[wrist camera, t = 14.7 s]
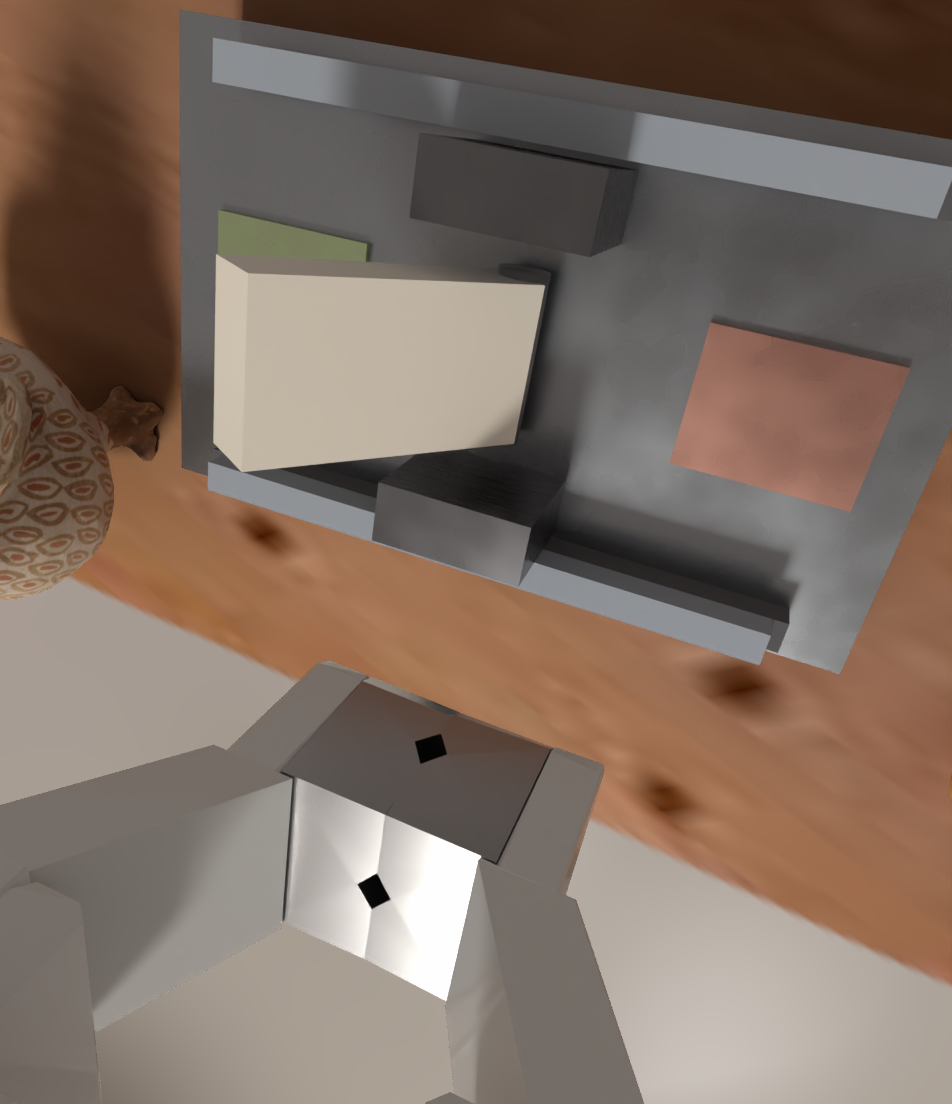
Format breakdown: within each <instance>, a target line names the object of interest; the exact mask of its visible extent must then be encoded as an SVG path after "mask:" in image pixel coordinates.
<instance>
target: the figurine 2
mask: <svg viewBox="0 0 952 1104" xmlns="http://www.w3.org/2000/svg"><path fill="white" fill-rule="evenodd" d="M950 792H951V799H952V775H951V782H950Z"/></svg>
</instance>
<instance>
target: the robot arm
mask: <svg viewBox="0 0 952 1104" xmlns="http://www.w3.org/2000/svg"><path fill="white" fill-rule="evenodd" d="M603 774H604V765H603V764H601V763H598V762H595V761H592V760H590V759H587V758H584V757H581V756H578V755H576V754H573V753H570V752H567V751H564V750H562V749H559V748H556V747H555V748H552V747H550V746H547V745H544V744H542V743H539V742H536V741H534V740H531V739H528V738H526V737H523V736H520V735H518V734H515V733H512V732H510V731H507V730H504V729H502V728H499V727H496V726H494V725H491V724H488V723H486V722H483V721H480V720H478V719H475V718H472V717H470V716H467V715H464V714H462V713H461V714H460V712H457V711H455V710H452V709H450V708H447V707H445V706H442V705H440V704H438V703H435V702H433V701H430V700H428V699H425V698H423V697H420V696H418V695H416V694H413V693H411V692H408V691H406V690H403V689H401V688H398V687H396V686H394V685H391V684H389V683H386V682H384V681H381V680H379V679H376V678H374V677H371V678H370V677H369V676H367V675H365V674H362V673H360V672H357V671H355V670H352V669H350V668H347V667H345V666H342V665H340V664H337V663H335V662H332V661H330V660H328V661H325V662H321V663H318V664H317V665H315V666H314V667H313V668H312V669H311V670H310V671H309V672H308V673H307V674H306V675H305V676H304V677H302V678H301V679H300V680H299V681H298V682H297V683H296V684H295V685H294V686H293V687H292V688H291V689H290V690H289V691H288V692H287V693H286V694H285V695H284V696H283V697H282V698H281V699H280V700H279V701H278V702H277V703H275V704H274V705H273V706H272V707H271V708H270V709H269V710H268V711H267V712H266V713H265V714H264V715H263V716H262V717H261V718H260V719H259V720H258V721H257V722H256V723H255V724H254V725H253V726H252V727H251V728H250V729H248V730H247V731H246V732H245V733H244V734H243V735H242V736H241V737H240V738H239V739H238V740H237V741H236V742H235V743H234V744H233V745H232V746H231V747H230V748H229V749H228V750H224V749H223V748H220V747H217V746H215V745H211V746H208V747H205V748H201V749H197V750H194V751H190V752H187V753H183V754H180V755H176V756H172V757H169V758H165V759H162V760H158V761H155V762H151V763H148V764H144V765H141V766H137V767H134V768H130V769H126V770H123V771H119V772H116V773H112V774H109V775H105V776H102V777H98V778H95V779H91V780H88V781H84V782H81V783H77V784H73V785H70V786H66V787H63V788H59V789H56V790H52V791H49V792H45V793H42V794H38V795H35V796H31V797H27V798H24V799H20V800H17V801H13V802H10V803H6V804H3V805H0V1104H101V1086H100V1076H99V1068H98V1059H97V1058H98V1057H97V1048H96V1039H95V1032H97V1031H99V1030H100V1029H102V1028H104V1027H106V1026H108V1025H109V1024H111V1023H113V1022H115V1021H116V1020H118V1019H120V1018H122V1017H124V1016H126V1015H127V1014H129V1013H131V1012H133V1011H134V1010H136V1009H138V1008H140V1007H142V1006H143V1005H145V1004H147V1003H149V1002H151V1001H152V1000H154V999H156V998H158V997H159V996H161V995H163V994H165V993H167V992H168V991H170V990H172V989H174V988H176V987H177V986H179V985H181V984H183V983H184V982H186V981H188V980H190V979H192V978H193V977H195V976H197V975H199V974H201V973H202V972H204V971H206V970H208V969H210V968H211V967H213V966H215V965H217V964H219V963H220V962H222V961H224V960H226V959H227V958H229V957H231V956H233V955H235V954H236V953H238V952H240V951H242V950H243V949H245V948H247V947H249V946H251V945H252V944H254V943H256V942H258V941H260V940H261V939H263V938H265V937H267V936H269V935H270V934H272V933H274V932H275V931H277V930H279V929H281V927H282V923H285V924H287V925H289V926H292V927H294V928H296V929H298V930H300V931H303V932H305V933H307V934H310V935H312V936H314V937H316V938H319V939H321V940H323V941H325V942H328V943H330V944H332V945H334V946H337V947H339V948H341V949H344V950H346V951H348V952H350V953H352V954H355V955H357V956H359V957H361V958H365V959H366V960H367V961H370V962H371V963H374V964H375V965H378V966H379V967H381V968H383V969H385V970H387V971H389V972H391V973H393V974H395V975H397V976H399V977H401V978H403V979H404V980H406V981H408V982H410V983H412V984H414V985H416V986H418V987H420V988H422V989H424V990H426V991H428V992H430V993H432V994H434V995H436V996H437V997H440V998H441V999H443V1000H446V1005H445V1009H446V1019H447V1028H448V1038H449V1048H450V1058H451V1067H452V1077H453V1087H454V1094H453V1093H451V1092H450V1093H447V1094H445V1095H442V1096H440V1097H438V1098H436V1099H433V1100H431V1101H428V1102H426V1104H644V1102H643V1099H642V1096H641V1093H640V1090H639V1087H638V1084H637V1081H636V1078H635V1075H634V1072H633V1069H632V1066H631V1063H630V1060H629V1057H628V1054H627V1051H626V1048H625V1045H624V1042H623V1039H622V1036H621V1033H620V1030H619V1027H618V1024H617V1021H616V1018H615V1015H614V1012H613V1009H612V1006H611V1003H610V1000H609V997H608V994H607V991H606V988H605V985H604V982H603V979H602V976H601V973H600V970H599V967H598V964H597V961H596V958H595V955H594V952H593V949H592V946H591V943H590V940H589V937H588V934H587V931H586V928H585V925H584V922H583V919H582V916H581V913H580V910H579V907H578V904H577V901H576V900H575V899H573V898H571V897H568V896H566V892H567V889H568V886H569V883H570V880H571V876H572V873H573V870H574V867H575V864H576V861H577V857H578V854H579V851H580V848H581V844H582V841H583V838H584V835H585V832H586V828H587V826H588V822H589V819H590V816H591V813H592V810H593V806H594V803H595V800H596V797H597V794H598V790H599V787H600V784H601V781H602V778H603Z"/></svg>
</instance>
